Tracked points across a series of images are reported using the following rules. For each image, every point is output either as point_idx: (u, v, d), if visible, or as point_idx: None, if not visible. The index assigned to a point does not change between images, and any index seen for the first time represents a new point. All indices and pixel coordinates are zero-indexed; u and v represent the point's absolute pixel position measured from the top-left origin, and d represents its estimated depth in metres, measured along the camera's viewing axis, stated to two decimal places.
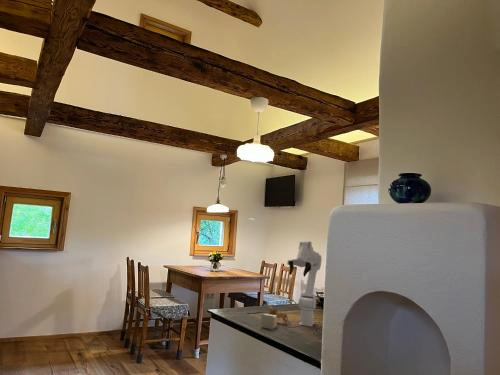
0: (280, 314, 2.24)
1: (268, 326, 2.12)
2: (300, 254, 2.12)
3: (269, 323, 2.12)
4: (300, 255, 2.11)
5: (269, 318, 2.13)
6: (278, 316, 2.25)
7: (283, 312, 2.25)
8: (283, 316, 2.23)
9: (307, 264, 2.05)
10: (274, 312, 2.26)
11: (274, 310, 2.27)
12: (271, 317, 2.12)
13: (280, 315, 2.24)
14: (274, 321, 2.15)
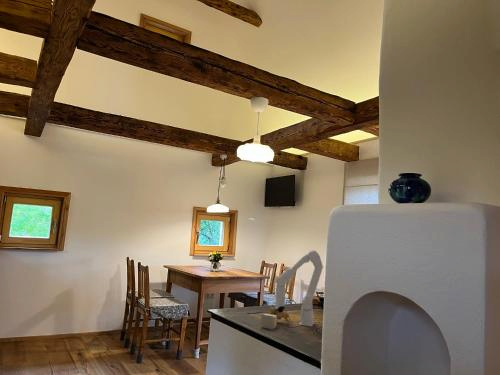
0: (282, 314, 2.24)
1: (268, 326, 2.12)
2: None
3: (269, 323, 2.12)
4: None
5: (269, 318, 2.13)
6: (280, 316, 2.24)
7: (285, 312, 2.24)
8: (285, 316, 2.22)
9: None
10: (276, 312, 2.25)
11: (275, 310, 2.25)
12: (271, 317, 2.12)
13: (282, 315, 2.24)
14: (274, 321, 2.15)
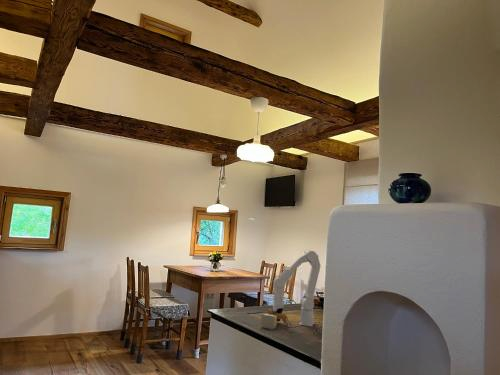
0: (280, 316, 2.20)
1: (268, 326, 2.12)
2: None
3: (269, 323, 2.12)
4: None
5: (269, 318, 2.13)
6: (278, 318, 2.21)
7: (283, 314, 2.20)
8: (283, 318, 2.19)
9: None
10: (274, 314, 2.21)
11: (274, 312, 2.22)
12: (271, 317, 2.12)
13: (280, 317, 2.20)
14: (274, 321, 2.15)
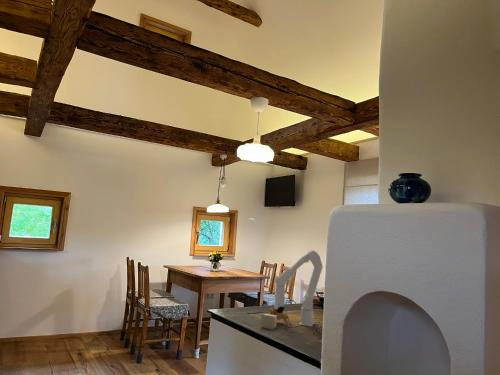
0: (281, 315, 2.21)
1: (268, 326, 2.12)
2: None
3: (269, 323, 2.12)
4: None
5: (269, 318, 2.13)
6: (279, 317, 2.22)
7: (284, 313, 2.22)
8: (284, 317, 2.20)
9: None
10: (275, 313, 2.23)
11: (275, 311, 2.23)
12: (271, 317, 2.12)
13: (281, 316, 2.21)
14: (274, 321, 2.15)
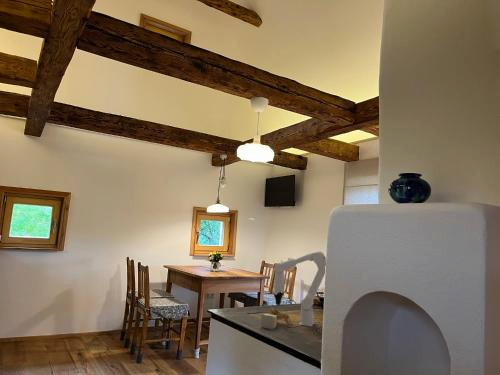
0: (282, 315, 2.21)
1: (268, 326, 2.12)
2: None
3: (269, 323, 2.12)
4: None
5: (269, 318, 2.13)
6: (280, 317, 2.21)
7: (285, 314, 2.21)
8: (285, 317, 2.20)
9: None
10: (276, 313, 2.23)
11: (276, 311, 2.23)
12: (271, 317, 2.12)
13: (282, 316, 2.21)
14: (274, 321, 2.15)
